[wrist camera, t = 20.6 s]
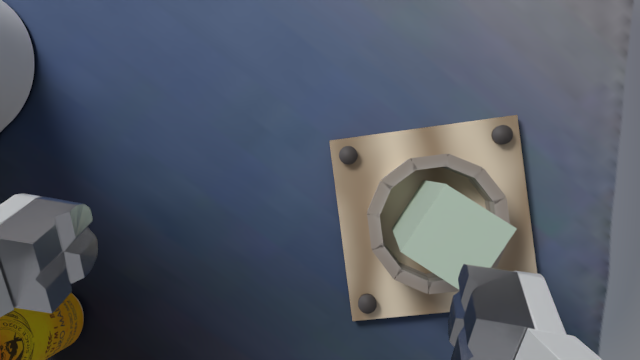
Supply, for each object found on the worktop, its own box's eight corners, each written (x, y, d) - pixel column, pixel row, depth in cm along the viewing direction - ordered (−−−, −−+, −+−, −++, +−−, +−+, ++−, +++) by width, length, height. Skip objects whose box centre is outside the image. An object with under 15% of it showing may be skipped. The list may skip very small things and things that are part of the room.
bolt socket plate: (352, 318, 42) (351, 332, 39) (330, 141, 42) (326, 138, 39) (537, 300, 41) (554, 313, 37) (514, 116, 41) (529, 110, 37)
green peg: (441, 260, 41) (470, 297, 29) (391, 228, 41) (400, 252, 29) (473, 211, 40) (517, 228, 28) (423, 180, 41) (445, 183, 29)
